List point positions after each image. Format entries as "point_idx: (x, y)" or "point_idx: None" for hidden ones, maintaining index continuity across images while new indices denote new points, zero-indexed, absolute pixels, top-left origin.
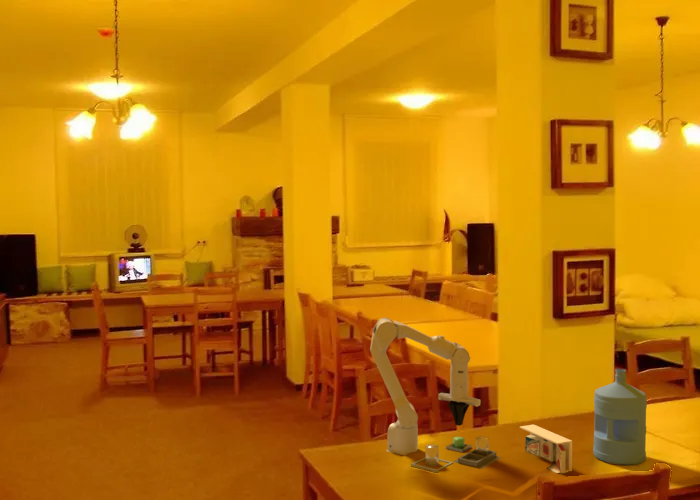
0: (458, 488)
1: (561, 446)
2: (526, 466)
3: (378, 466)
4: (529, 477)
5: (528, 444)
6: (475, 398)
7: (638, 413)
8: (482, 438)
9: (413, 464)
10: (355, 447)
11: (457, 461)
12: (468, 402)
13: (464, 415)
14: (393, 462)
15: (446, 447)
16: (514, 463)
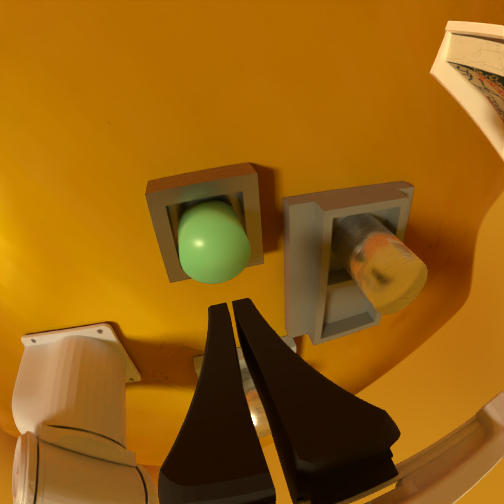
0: (359, 379)
1: None
2: (466, 171)
3: (149, 427)
4: (473, 237)
5: (489, 79)
6: (497, 462)
7: None
8: (405, 292)
9: None
10: (5, 394)
11: (301, 329)
12: (414, 476)
13: (289, 349)
14: (145, 406)
15: (172, 278)
16: (439, 171)
